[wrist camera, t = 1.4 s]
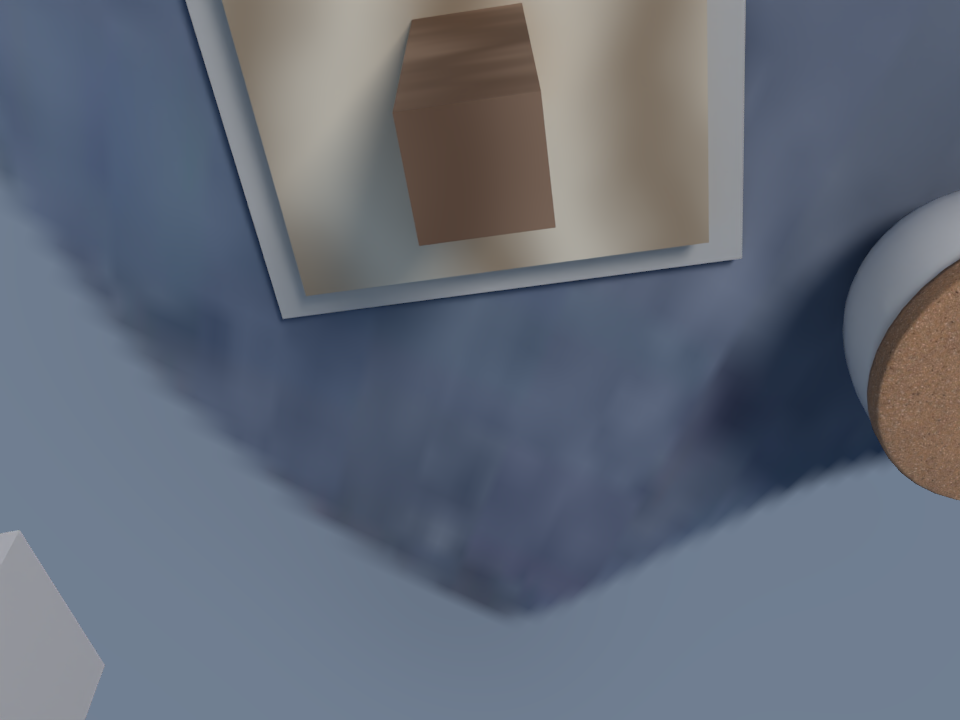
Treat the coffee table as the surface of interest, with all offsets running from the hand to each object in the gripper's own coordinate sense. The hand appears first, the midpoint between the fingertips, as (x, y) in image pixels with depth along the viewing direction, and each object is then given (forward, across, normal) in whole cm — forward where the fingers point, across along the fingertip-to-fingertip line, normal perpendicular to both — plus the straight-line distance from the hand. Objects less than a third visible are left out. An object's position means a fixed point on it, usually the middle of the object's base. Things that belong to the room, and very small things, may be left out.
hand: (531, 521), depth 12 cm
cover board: (+22, 0, 0) cm, 23 cm away
